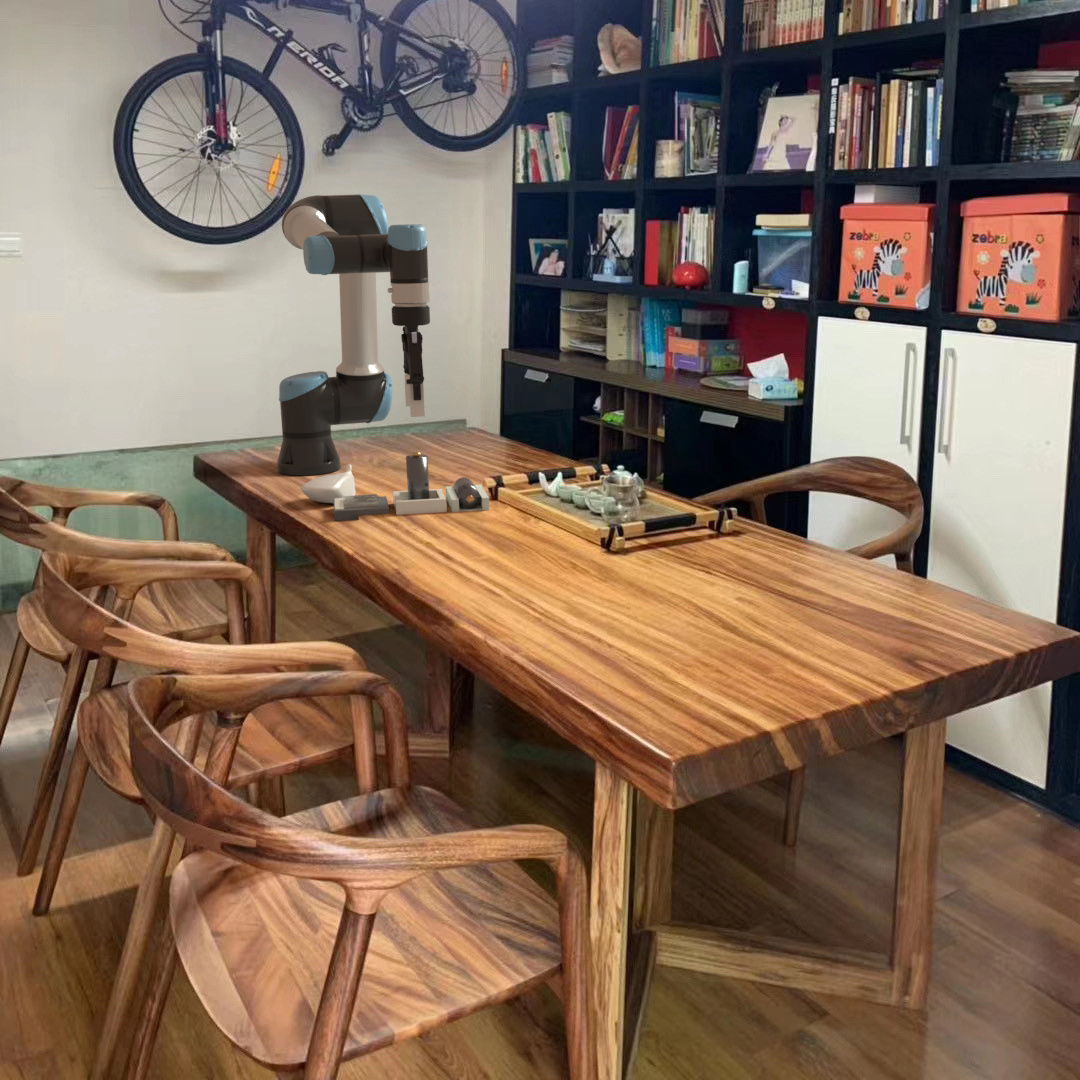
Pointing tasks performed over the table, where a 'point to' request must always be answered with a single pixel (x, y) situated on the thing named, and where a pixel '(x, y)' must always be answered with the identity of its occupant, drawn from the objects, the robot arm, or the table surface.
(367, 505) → the plate
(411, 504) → the white square tray
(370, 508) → the grey square base pad
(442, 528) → the table surface
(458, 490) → the cell
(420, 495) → the cell
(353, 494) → the white rounded lump
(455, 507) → the trough
